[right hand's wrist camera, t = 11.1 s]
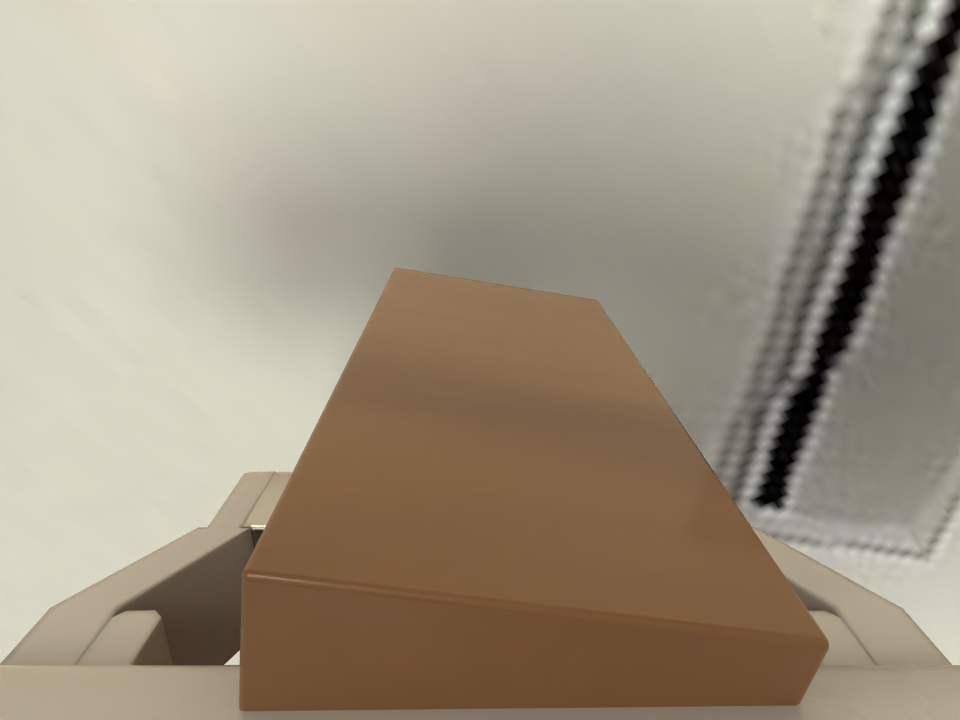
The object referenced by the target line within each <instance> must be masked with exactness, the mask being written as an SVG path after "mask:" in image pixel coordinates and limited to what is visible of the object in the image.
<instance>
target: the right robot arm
mask: <svg viewBox="0 0 960 720" xmlns="http://www.w3.org/2000/svg"><path fill="white" fill-rule="evenodd" d="M292 473H293V472H248V473H245V474H244V475H243V476H242V478H241V479H240V480H239V482H238V483H237V485H236V486H235V488H234V489H233V491H232V492H231V494H230V495H229V497H228V498H227V500H226V501H225V503H224V504H223V505H222V507H221V508H220V510H219V511H218V513H217V514H216V516H215V517H214V519H213V520H212V522H211V523H210V525H209V526H208V527H207V528H197V529H195V530H193V531H191V532H190V533H188V534H186V535H184V536H182V537H180V538H178V539H177V540H175V541H173V542H171V543H169V544H167V545H166V546H164V547H162V548H160V549H158V550H156V551H155V552H153V553H151V554H149V555H147V556H145V557H143V558H142V559H140V560H138V561H136V562H134V563H132V564H131V565H129V566H127V567H125V568H123V569H121V570H120V571H118V572H116V573H114V574H112V575H110V576H108V577H107V578H105V579H103V580H101V581H99V582H97V583H96V584H94V585H92V586H90V587H88V588H86V589H85V590H83V591H81V592H79V593H77V594H75V595H73V596H72V597H70V598H68V599H66V600H64V601H62V602H61V603H59V604H57V605H55V606H53V607H51V608H50V609H49V610H48V611H47V612H46V613H45V615H44V616H43V617H42V618H41V619H40V620H39V621H38V622H37V624H36V625H35V626H34V627H33V628H32V629H31V630H30V631H29V633H28V634H27V635H26V636H25V637H24V638H23V639H22V640H21V641H20V643H19V644H18V645H17V646H16V647H15V648H14V649H13V650H12V652H11V653H10V654H9V655H8V656H7V657H6V658H5V659H4V661H3V662H2V663H1V664H0V720H960V665H952V664H951V663H950V662H949V661H948V660H947V659H946V657H945V656H944V655H943V654H942V653H941V652H940V651H939V649H938V648H937V647H936V646H935V645H934V644H933V643H932V641H931V640H930V639H929V638H928V637H927V636H926V634H925V633H924V632H923V631H922V630H921V629H920V628H919V626H918V625H917V624H916V623H915V622H914V621H913V620H912V618H911V617H910V616H909V615H908V614H907V613H906V611H905V610H904V609H902V608H901V607H899V606H897V605H895V604H893V603H892V602H890V601H888V600H886V599H884V598H882V597H881V596H879V595H877V594H875V593H873V592H872V591H870V590H868V589H866V588H864V587H862V586H861V585H859V584H857V583H855V582H853V581H852V580H850V579H848V578H846V577H844V576H842V575H841V574H839V573H837V572H835V571H833V570H832V569H830V568H828V567H826V566H824V565H822V564H821V563H819V562H817V561H815V560H813V559H812V558H810V557H808V556H806V555H804V554H802V553H801V552H799V551H797V550H795V549H793V548H792V547H790V546H788V545H786V544H784V543H782V542H781V541H779V540H777V539H775V538H773V537H771V536H770V535H768V534H766V533H764V532H762V531H761V530H759V529H757V528H752V529H753V530H754V532H755V533H756V535H757V536H758V538H759V539H760V540H761V542H762V543H763V545H764V546H765V548H766V549H767V551H768V552H769V554H770V555H771V557H772V558H773V560H774V561H775V563H776V564H777V565H778V567H779V568H780V570H781V571H782V573H783V574H784V576H785V577H786V579H787V580H788V582H789V583H790V585H791V586H792V588H793V589H794V590H795V592H796V593H797V595H798V596H799V598H800V599H801V601H802V602H803V604H804V605H805V607H806V608H807V610H808V611H809V613H810V614H811V616H812V617H813V618H814V620H815V621H816V623H817V624H818V626H819V627H820V629H821V630H822V632H823V633H824V635H825V636H826V638H827V639H828V642H829V649H828V651H827V653H826V655H825V657H824V659H823V661H822V663H821V665H820V666H819V668H818V670H817V672H816V674H815V676H814V678H813V680H812V682H811V684H810V685H809V687H808V689H807V691H806V693H805V695H804V697H803V699H802V701H801V702H800V704H798V705H795V706H704V707H609V708H514V709H419V710H323V711H242V710H240V709H239V679H240V665H224V664H225V663H226V662H227V661H229V660H230V659H231V658H232V657H233V656H234V655H235V654H236V653H237V652H238V651H239V650H240V630H241V581H242V573H243V571H244V569H245V567H246V565H247V563H248V561H249V559H250V557H251V555H252V553H253V551H254V549H255V547H256V545H257V543H258V541H259V539H260V537H261V535H262V533H263V531H264V529H265V527H266V525H267V523H268V521H269V519H270V517H271V515H272V513H273V511H274V509H275V507H276V505H277V503H278V501H279V499H280V497H281V495H282V493H283V491H284V489H285V487H286V485H287V483H288V481H289V479H290V477H291V475H292Z"/></svg>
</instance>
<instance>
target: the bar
mask: <svg viewBox="0 0 960 720" xmlns="http://www.w3.org/2000/svg"><path fill="white" fill-rule="evenodd" d="M828 649H829V642H828V639H827V638H826V636H825V635H824V633H823V632H822V630H821V629H820V627H819V626H818V624H817V623H816V621H815V620H814V618H813V617H812V616H811V614H810V613H809V611H808V610H807V608H806V607H805V605H804V604H803V602H802V601H801V599H800V598H799V596H798V595H797V593H796V592H795V590H794V589H793V588H792V586H791V585H790V583H789V582H788V580H787V579H786V577H785V576H784V574H783V573H782V571H781V570H780V568H779V567H778V565H777V564H776V563H775V561H774V560H773V558H772V557H771V555H770V554H769V552H768V551H767V549H766V548H765V546H764V545H763V543H762V542H761V540H760V539H759V538H758V536H757V535H756V533H755V532H754V530H753V529H752V527H751V526H750V524H749V523H748V521H747V520H746V518H745V517H744V515H743V514H742V513H741V511H740V510H739V508H738V507H737V505H736V504H735V502H734V501H733V499H732V498H731V496H730V495H729V493H728V492H727V490H726V489H725V488H724V486H723V485H722V483H721V482H720V480H719V479H718V477H717V476H716V474H715V473H714V471H713V470H712V468H711V467H710V465H709V464H708V463H707V461H706V460H705V458H704V457H703V455H702V454H701V452H700V451H699V449H698V448H697V446H696V445H695V443H694V442H693V440H692V439H691V437H690V436H689V435H688V433H687V432H686V430H685V429H684V427H683V426H682V424H681V423H680V421H679V420H678V418H677V417H676V415H675V414H674V412H673V411H672V410H671V408H670V407H669V405H668V404H667V402H666V401H665V399H664V398H663V396H662V395H661V393H660V392H659V390H658V389H657V387H656V386H655V385H654V383H653V382H652V380H651V379H650V377H649V376H648V374H647V373H646V371H645V370H644V368H643V367H642V365H641V364H640V362H639V361H638V360H637V358H636V357H635V355H634V354H633V352H632V351H631V349H630V348H629V346H628V345H627V343H626V342H625V340H624V339H623V337H622V336H621V335H620V333H619V332H618V330H617V329H616V327H615V326H614V324H613V323H612V321H611V320H610V318H609V317H608V315H607V314H606V312H605V311H604V309H603V308H602V307H601V305H600V304H599V302H598V301H597V300H592V299H586V298H580V297H573V296H567V295H561V294H555V293H548V292H542V291H536V290H530V289H524V288H517V287H511V286H505V285H499V284H492V283H486V282H480V281H474V280H468V279H461V278H455V277H449V276H443V275H436V274H430V273H424V272H418V271H412V270H405V269H399V268H396V269H394V271H393V273H392V275H391V277H390V279H389V281H388V283H387V285H386V287H385V289H384V291H383V293H382V295H381V297H380V299H379V301H378V303H377V305H376V307H375V309H374V311H373V313H372V315H371V317H370V319H369V321H368V323H367V325H366V327H365V329H364V331H363V333H362V335H361V337H360V339H359V341H358V343H357V345H356V347H355V349H354V351H353V353H352V355H351V357H350V359H349V361H348V363H347V365H346V367H345V369H344V371H343V373H342V375H341V377H340V379H339V381H338V383H337V385H336V387H335V389H334V391H333V393H332V395H331V397H330V399H329V401H328V403H327V405H326V407H325V409H324V411H323V413H322V415H321V417H320V419H319V421H318V423H317V425H316V427H315V429H314V431H313V433H312V435H311V437H310V439H309V441H308V443H307V445H306V447H305V449H304V451H303V453H302V455H301V457H300V459H299V461H298V463H297V465H296V467H295V469H294V471H293V473H292V475H291V477H290V479H289V481H288V483H287V485H286V487H285V489H284V491H283V493H282V495H281V497H280V499H279V501H278V503H277V505H276V507H275V509H274V511H273V513H272V515H271V517H270V519H269V521H268V523H267V525H266V527H265V529H264V531H263V533H262V535H261V537H260V539H259V541H258V543H257V545H256V547H255V549H254V551H253V553H252V555H251V557H250V559H249V561H248V563H247V565H246V567H245V569H244V571H243V573H242V581H241V630H240V679H239V709H240V710H242V711H323V710H419V709H514V708H609V707H704V706H795V705H798V704H800V702H801V701H802V699H803V697H804V695H805V693H806V691H807V689H808V687H809V685H810V684H811V682H812V680H813V678H814V676H815V674H816V672H817V670H818V668H819V666H820V665H821V663H822V661H823V659H824V657H825V655H826V653H827V651H828Z"/></svg>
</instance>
